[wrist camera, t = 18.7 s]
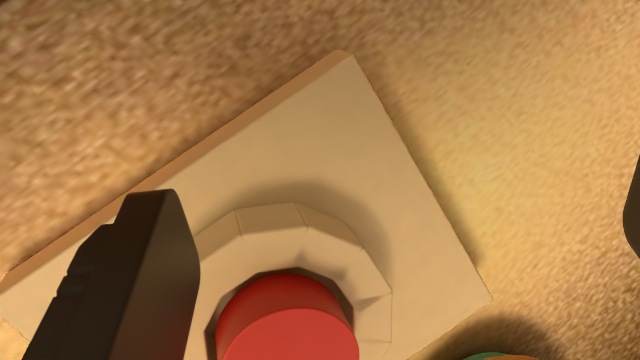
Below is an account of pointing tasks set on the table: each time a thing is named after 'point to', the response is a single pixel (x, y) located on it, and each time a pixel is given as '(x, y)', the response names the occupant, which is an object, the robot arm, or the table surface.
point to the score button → (284, 322)
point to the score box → (300, 219)
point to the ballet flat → (498, 356)
